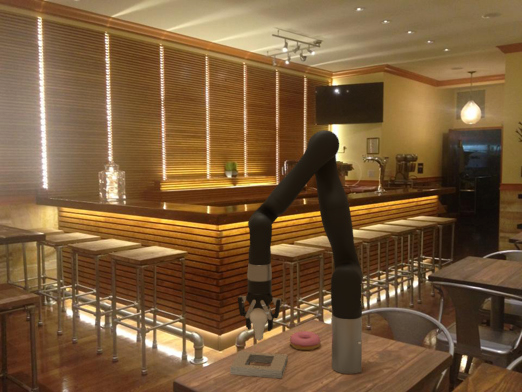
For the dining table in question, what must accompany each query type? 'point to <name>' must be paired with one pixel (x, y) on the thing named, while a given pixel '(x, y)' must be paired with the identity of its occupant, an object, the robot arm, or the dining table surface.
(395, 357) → the dining table surface
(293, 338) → the doughnut
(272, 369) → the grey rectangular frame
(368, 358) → the dining table surface
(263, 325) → the lightbulb
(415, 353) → the dining table surface
